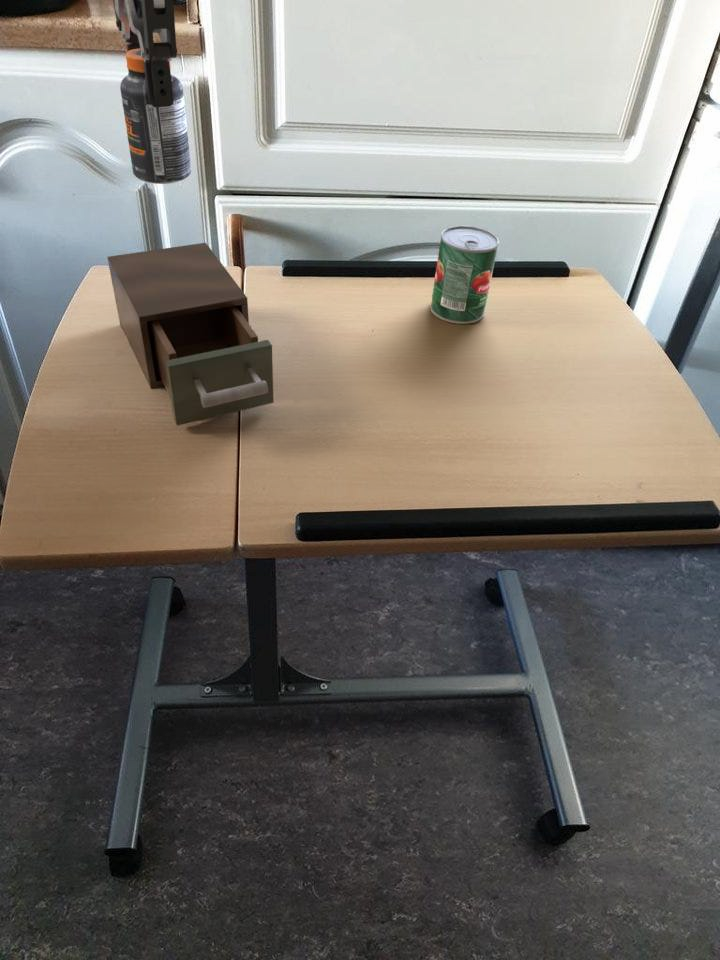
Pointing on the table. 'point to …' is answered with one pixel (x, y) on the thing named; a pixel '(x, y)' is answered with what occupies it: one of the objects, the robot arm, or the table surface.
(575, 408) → the table surface
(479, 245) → the canned tomato
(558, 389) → the table surface
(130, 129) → the pill bottle
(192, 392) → the drawer
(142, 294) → the cabinet
